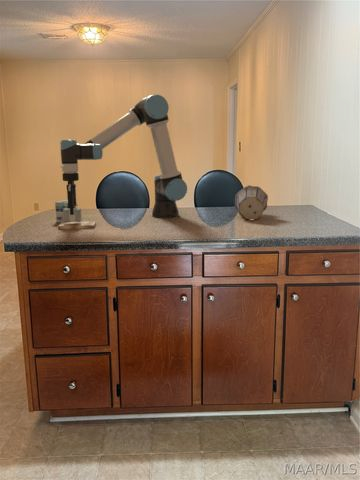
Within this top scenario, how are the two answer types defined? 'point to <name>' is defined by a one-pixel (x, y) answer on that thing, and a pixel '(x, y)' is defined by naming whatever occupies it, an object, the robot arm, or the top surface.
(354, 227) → the top surface
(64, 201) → the light bulb box
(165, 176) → the robot arm
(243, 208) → the faceted geometric planter
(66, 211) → the block
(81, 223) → the board
